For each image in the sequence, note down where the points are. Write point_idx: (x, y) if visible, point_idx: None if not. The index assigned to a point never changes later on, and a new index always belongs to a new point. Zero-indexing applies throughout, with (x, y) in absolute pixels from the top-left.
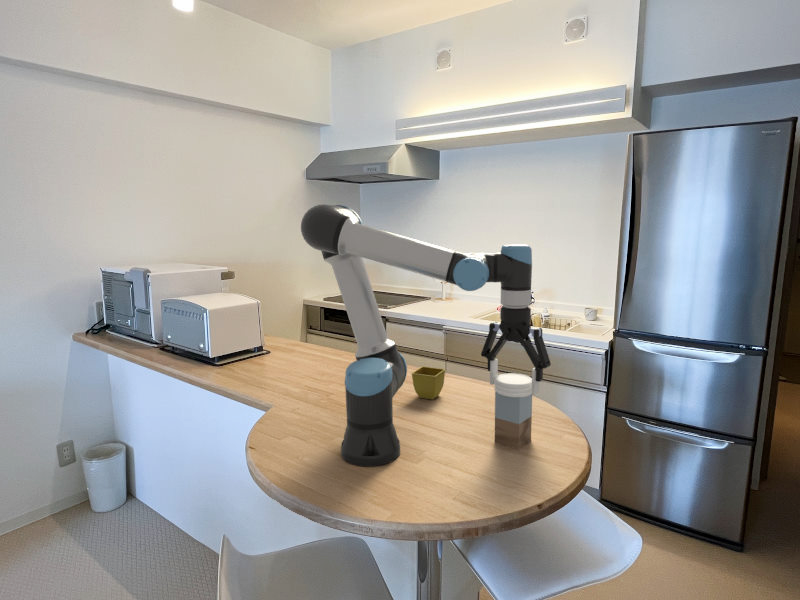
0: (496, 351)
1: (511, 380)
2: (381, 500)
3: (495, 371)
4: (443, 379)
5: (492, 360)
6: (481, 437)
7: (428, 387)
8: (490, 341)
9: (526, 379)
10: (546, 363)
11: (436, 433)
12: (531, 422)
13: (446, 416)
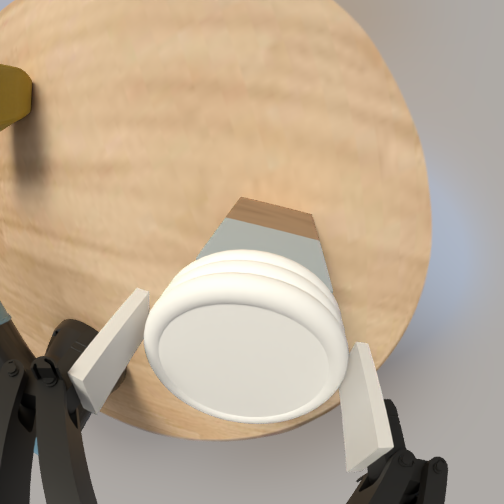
0: (85, 466)
1: (236, 390)
2: (176, 423)
3: (121, 349)
4: (10, 71)
5: (85, 403)
6: (190, 248)
7: (4, 126)
8: (26, 484)
9: (309, 361)
10: (417, 494)
11: (107, 267)
12: (316, 231)
13: (78, 174)
